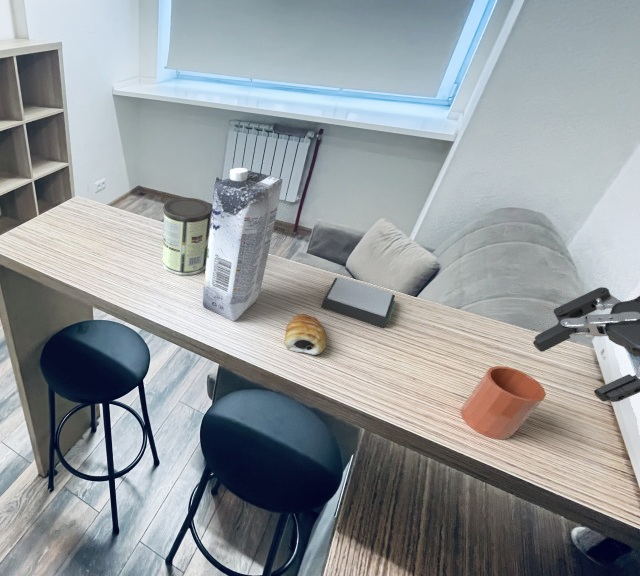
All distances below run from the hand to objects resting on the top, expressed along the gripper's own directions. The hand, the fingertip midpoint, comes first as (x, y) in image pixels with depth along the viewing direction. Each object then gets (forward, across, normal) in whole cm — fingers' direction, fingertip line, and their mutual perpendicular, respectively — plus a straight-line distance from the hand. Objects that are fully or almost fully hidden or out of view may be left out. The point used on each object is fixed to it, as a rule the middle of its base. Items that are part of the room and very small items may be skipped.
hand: (565, 370), depth 52 cm
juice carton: (+32, -30, -17) cm, 47 cm away
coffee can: (+36, -46, -22) cm, 62 cm away
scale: (+14, -27, 0) cm, 31 cm away
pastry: (+25, -18, -10) cm, 32 cm away
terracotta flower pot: (+11, 0, +3) cm, 11 cm away
